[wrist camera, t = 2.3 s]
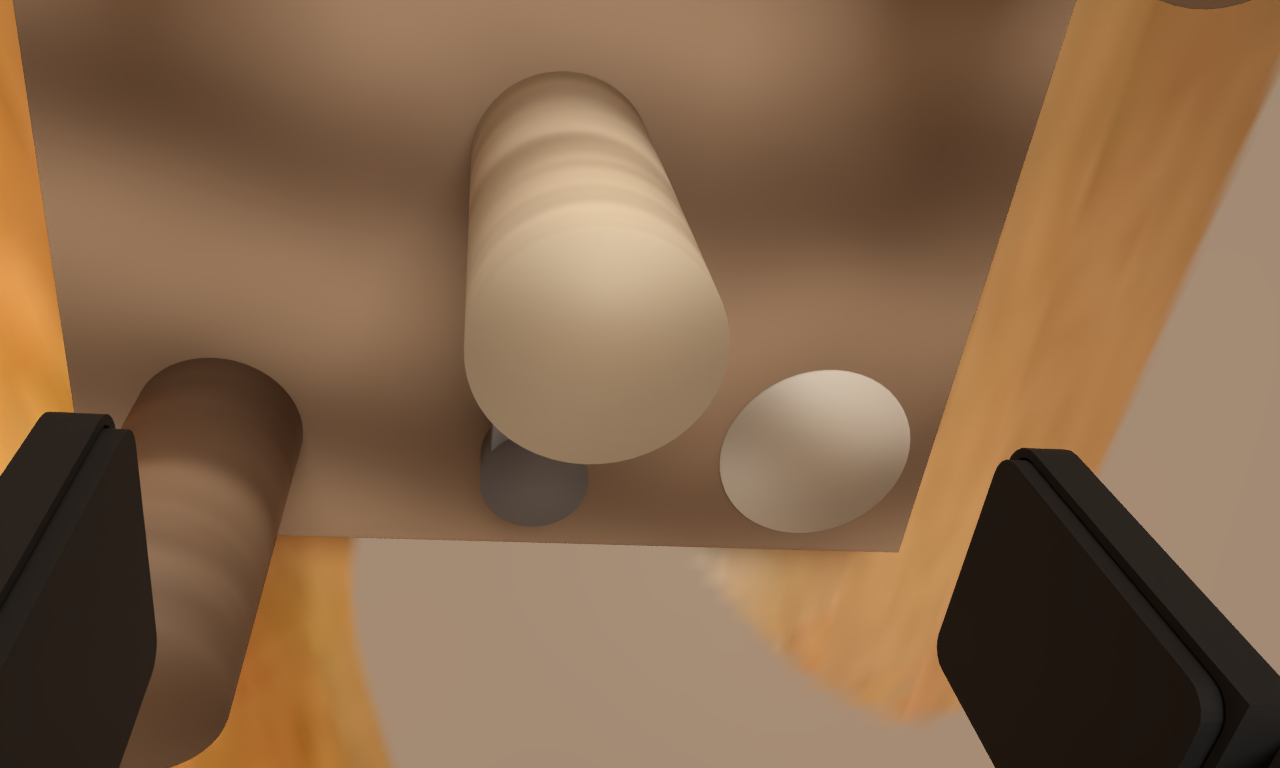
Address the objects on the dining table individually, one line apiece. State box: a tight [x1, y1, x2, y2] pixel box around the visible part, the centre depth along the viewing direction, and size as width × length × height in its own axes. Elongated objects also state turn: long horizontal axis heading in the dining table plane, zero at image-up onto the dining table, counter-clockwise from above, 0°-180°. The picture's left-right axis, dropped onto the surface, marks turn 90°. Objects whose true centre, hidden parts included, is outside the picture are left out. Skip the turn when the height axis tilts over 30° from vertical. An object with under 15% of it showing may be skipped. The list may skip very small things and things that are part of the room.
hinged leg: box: [464, 71, 730, 527], centre depth 19 cm, size 10×4×8 cm, turn 172°
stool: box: [13, 0, 1250, 768], centre depth 19 cm, size 20×20×10 cm
